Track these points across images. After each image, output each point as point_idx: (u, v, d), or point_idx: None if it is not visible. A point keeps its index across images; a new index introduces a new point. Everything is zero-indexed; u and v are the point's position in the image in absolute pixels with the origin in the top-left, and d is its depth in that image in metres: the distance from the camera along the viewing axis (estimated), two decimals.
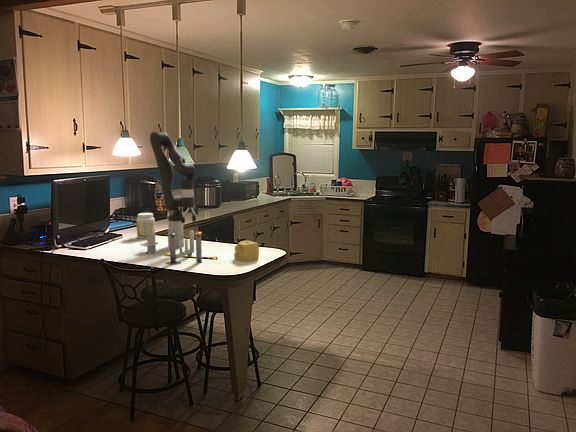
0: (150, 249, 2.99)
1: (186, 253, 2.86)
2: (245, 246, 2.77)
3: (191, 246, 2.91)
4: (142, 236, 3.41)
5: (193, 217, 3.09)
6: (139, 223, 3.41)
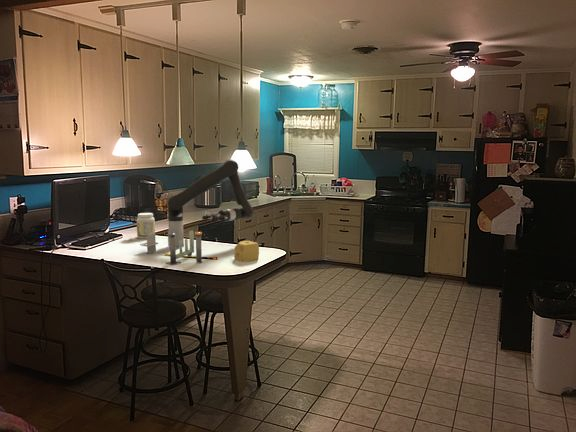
0: (150, 249, 2.99)
1: (186, 253, 2.86)
2: (245, 246, 2.77)
3: (191, 246, 2.91)
4: (142, 236, 3.41)
5: (206, 217, 3.04)
6: (139, 223, 3.41)
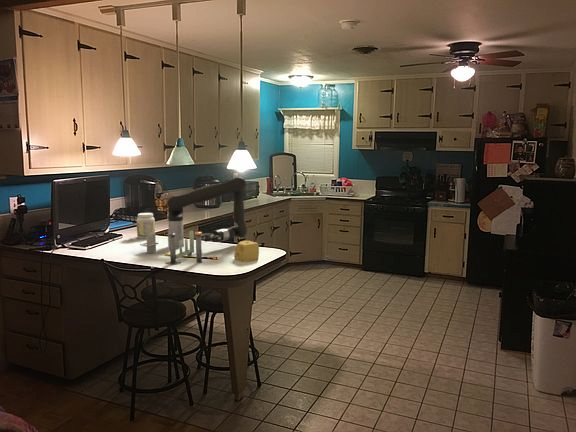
0: (150, 249, 2.99)
1: (186, 253, 2.86)
2: (245, 246, 2.77)
3: (191, 246, 2.91)
4: (142, 236, 3.41)
5: None
6: (139, 223, 3.41)
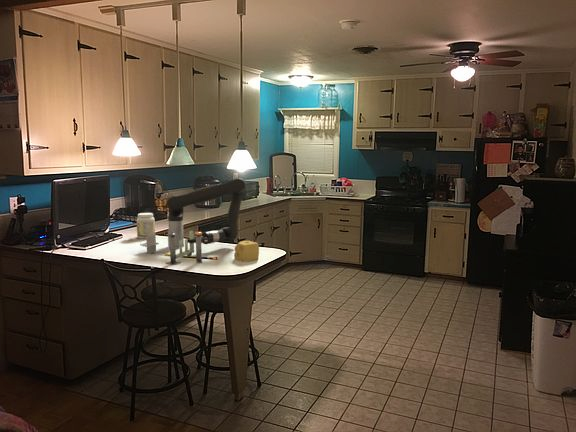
0: (150, 249, 2.98)
1: (186, 253, 2.86)
2: (245, 246, 2.77)
3: (191, 246, 2.91)
4: (142, 236, 3.41)
5: None
6: (139, 223, 3.41)
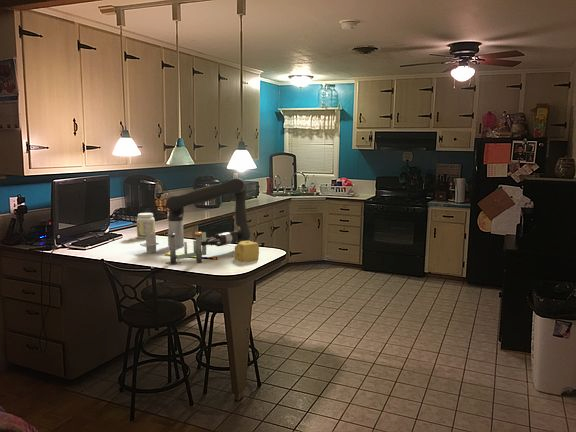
0: (149, 249, 2.98)
1: (193, 255, 2.82)
2: (245, 246, 2.77)
3: (202, 248, 2.86)
4: (142, 236, 3.41)
5: (202, 242, 2.87)
6: (139, 223, 3.41)
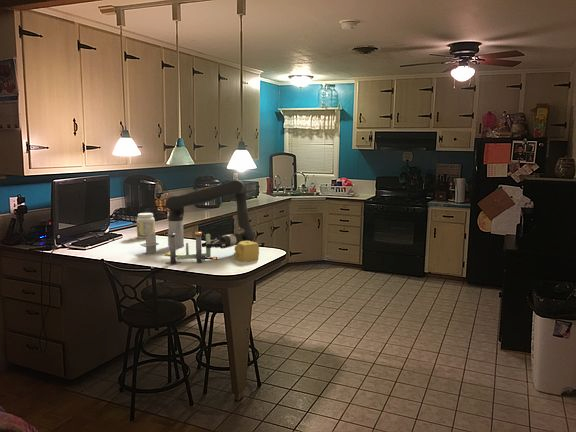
0: (149, 249, 2.98)
1: (195, 256, 2.78)
2: (245, 246, 2.77)
3: (206, 250, 2.81)
4: (142, 236, 3.41)
5: (206, 244, 2.81)
6: (139, 223, 3.41)
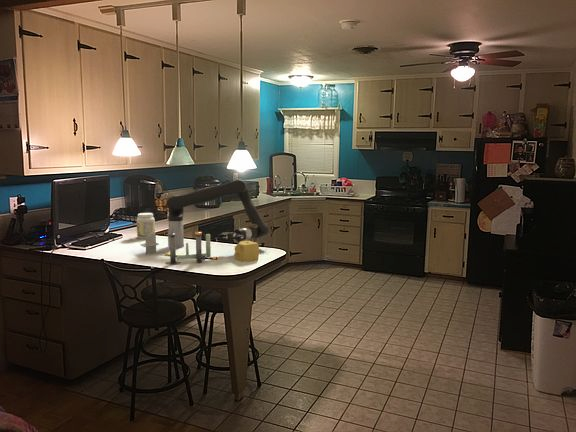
0: (149, 250, 2.98)
1: (195, 256, 2.78)
2: (245, 246, 2.77)
3: (206, 250, 2.81)
4: (142, 236, 3.41)
5: (221, 236, 2.94)
6: (139, 223, 3.41)
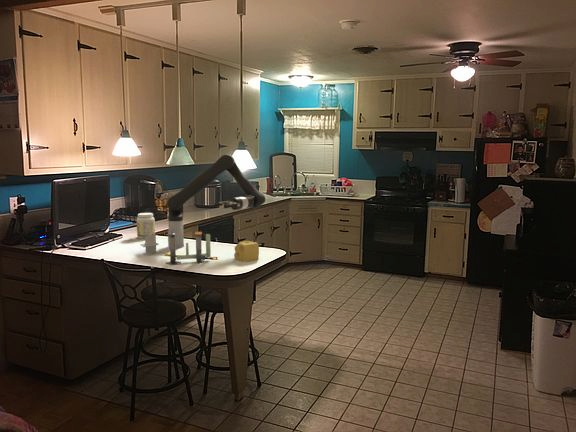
0: (149, 250, 2.97)
1: (195, 256, 2.78)
2: (245, 246, 2.77)
3: (206, 250, 2.81)
4: (142, 236, 3.41)
5: (218, 205, 2.93)
6: (139, 223, 3.41)
